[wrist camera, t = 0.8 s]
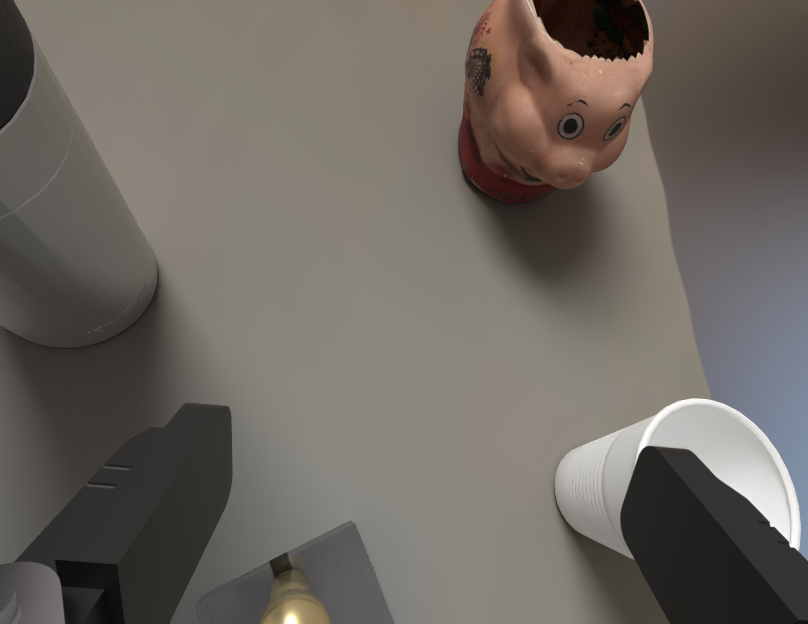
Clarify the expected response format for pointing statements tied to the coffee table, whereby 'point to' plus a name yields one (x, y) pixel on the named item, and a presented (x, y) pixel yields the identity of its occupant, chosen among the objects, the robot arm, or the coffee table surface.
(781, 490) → the cup
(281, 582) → the brown piece
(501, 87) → the decorative planter
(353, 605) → the plate
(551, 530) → the coffee table surface
